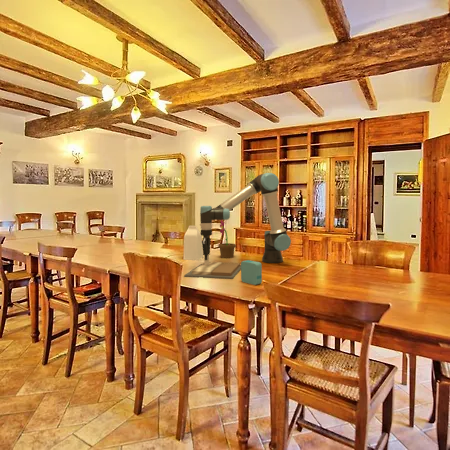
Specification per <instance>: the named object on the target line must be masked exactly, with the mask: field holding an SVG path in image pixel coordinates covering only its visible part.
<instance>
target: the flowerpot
mask: <svg viewBox="0 0 450 450" xmlns="http://www.w3.org/2000/svg"><path fill="white" fill-rule="evenodd" d="M224 225H225V222H224V221H223V220H220V224H219V228H220V230H219V231H220V234H221V235H222V236H224V233H225V241H226V242H224V243H218V245H217V246H218V249H219V253H220V258H221V259H233V258H234V255H235V248H236V247H237V244H236V243H233V242H231V243H229V242H228V233H227V230H226V228H225V227H224Z"/></svg>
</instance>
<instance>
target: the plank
mask: <svg viewBox="0 0 450 450" xmlns="http://www.w3.org/2000/svg"><path fill="white" fill-rule="evenodd" d="M222 263H223V262H222V261H209V265H204V262H203V263H201V264H202V265H200V264H199V265H200V266H199V265H198V266H199V267H197V266H196V267H197V268H196V267H195V268H196V269H194V268H193V269H194V270H193V269H192V270H193V271H192V274H194V275H211V272H212V271H213V270H214V269H216V268H217V267H218V266H219V265H220V264H222Z"/></svg>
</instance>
